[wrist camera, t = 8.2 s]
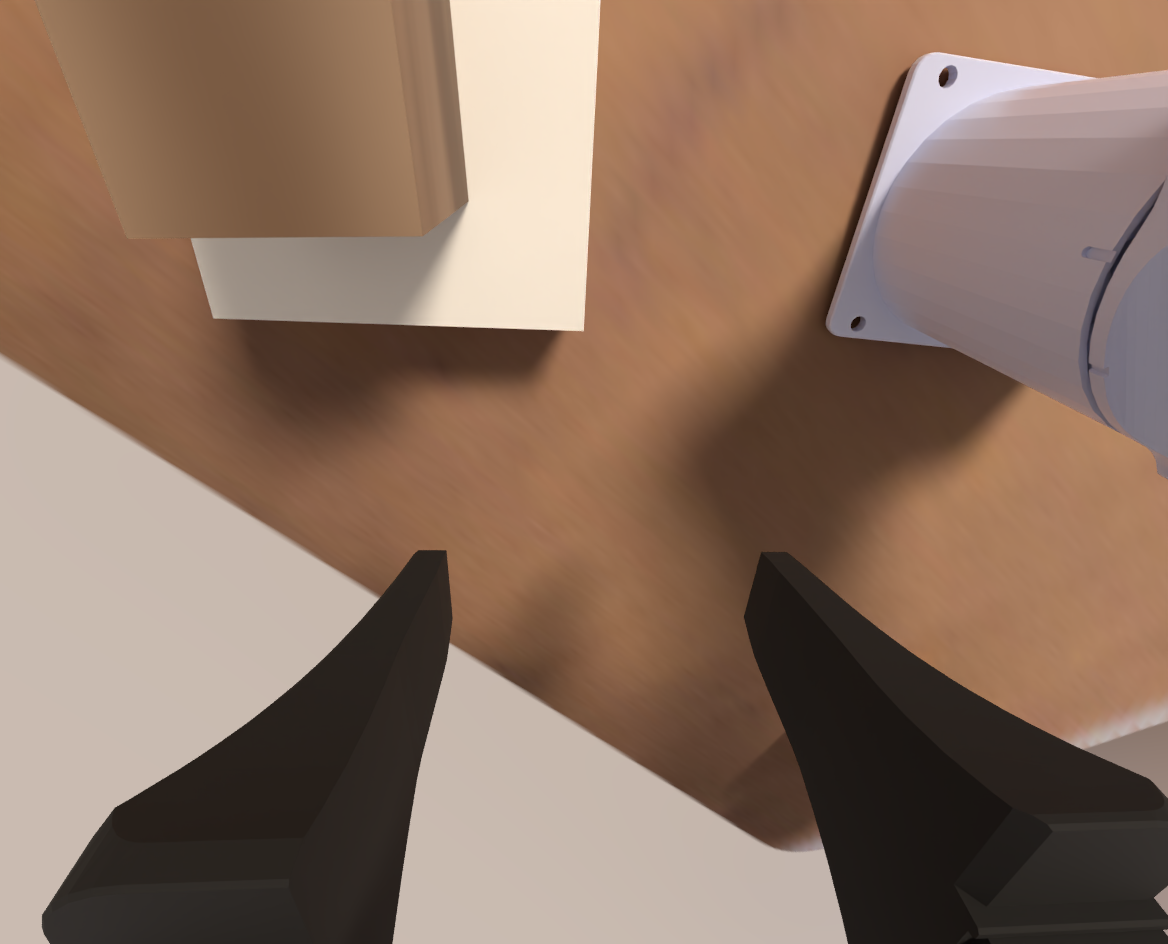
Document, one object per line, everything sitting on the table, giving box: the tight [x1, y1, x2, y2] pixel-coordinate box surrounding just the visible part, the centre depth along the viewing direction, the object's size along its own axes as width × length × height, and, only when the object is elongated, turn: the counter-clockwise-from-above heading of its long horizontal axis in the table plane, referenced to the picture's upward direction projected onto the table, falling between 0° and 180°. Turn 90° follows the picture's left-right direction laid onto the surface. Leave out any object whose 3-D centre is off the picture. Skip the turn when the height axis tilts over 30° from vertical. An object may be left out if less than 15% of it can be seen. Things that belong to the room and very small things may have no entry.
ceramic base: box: [191, 0, 600, 331], centre depth 15 cm, size 10×10×4 cm
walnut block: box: [35, 0, 469, 239], centre depth 10 cm, size 4×4×6 cm
